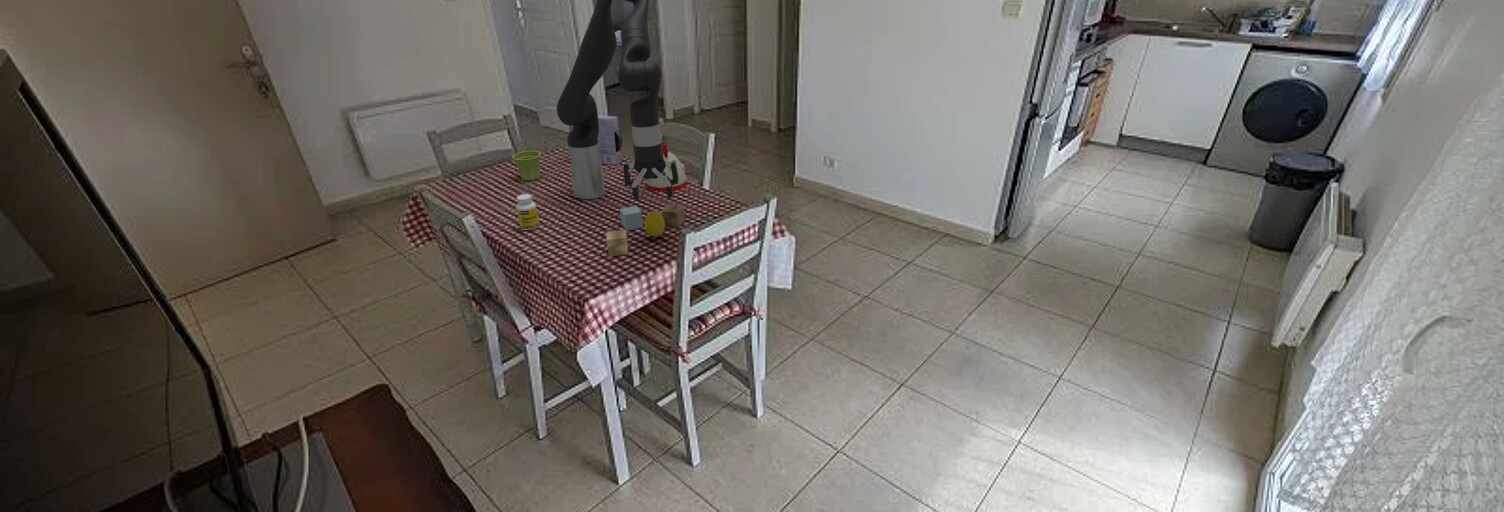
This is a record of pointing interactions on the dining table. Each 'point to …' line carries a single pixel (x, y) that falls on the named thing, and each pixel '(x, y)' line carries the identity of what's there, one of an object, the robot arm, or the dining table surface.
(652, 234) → the lemon
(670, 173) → the kitchen timer
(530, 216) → the supplement bottle
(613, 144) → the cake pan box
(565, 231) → the dining table surface
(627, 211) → the block slate
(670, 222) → the block walnut
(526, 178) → the plant pot
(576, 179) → the robot arm
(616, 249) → the block oak
